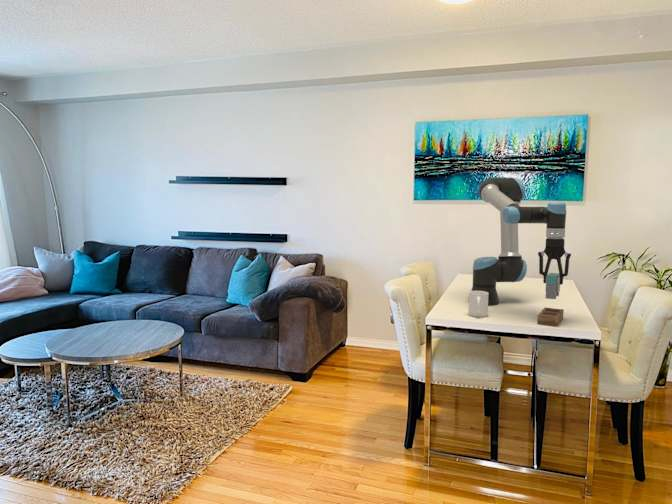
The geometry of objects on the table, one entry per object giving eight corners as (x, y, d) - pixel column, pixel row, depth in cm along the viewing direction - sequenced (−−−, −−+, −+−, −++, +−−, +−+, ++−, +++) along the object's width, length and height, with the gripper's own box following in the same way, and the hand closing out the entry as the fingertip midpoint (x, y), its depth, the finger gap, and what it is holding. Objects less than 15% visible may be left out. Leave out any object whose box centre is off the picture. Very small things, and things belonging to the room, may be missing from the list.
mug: (467, 318, 233) (468, 294, 231) (468, 312, 244) (469, 290, 243) (487, 319, 230) (488, 296, 229) (487, 313, 242) (488, 291, 241)
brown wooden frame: (557, 326, 219) (557, 317, 219) (537, 324, 223) (537, 315, 223) (563, 318, 234) (563, 309, 234) (544, 315, 239) (544, 307, 238)
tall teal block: (555, 299, 222) (556, 276, 221) (545, 298, 224) (546, 275, 223) (558, 295, 230) (560, 273, 229) (549, 294, 232) (550, 272, 232)
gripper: (532, 237, 226) (530, 290, 228) (575, 239, 217) (572, 294, 219) (536, 236, 232) (533, 288, 235) (577, 238, 224) (574, 291, 226)
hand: (552, 291), depth 227 cm, fingers closed on tall teal block, 4 cm apart
